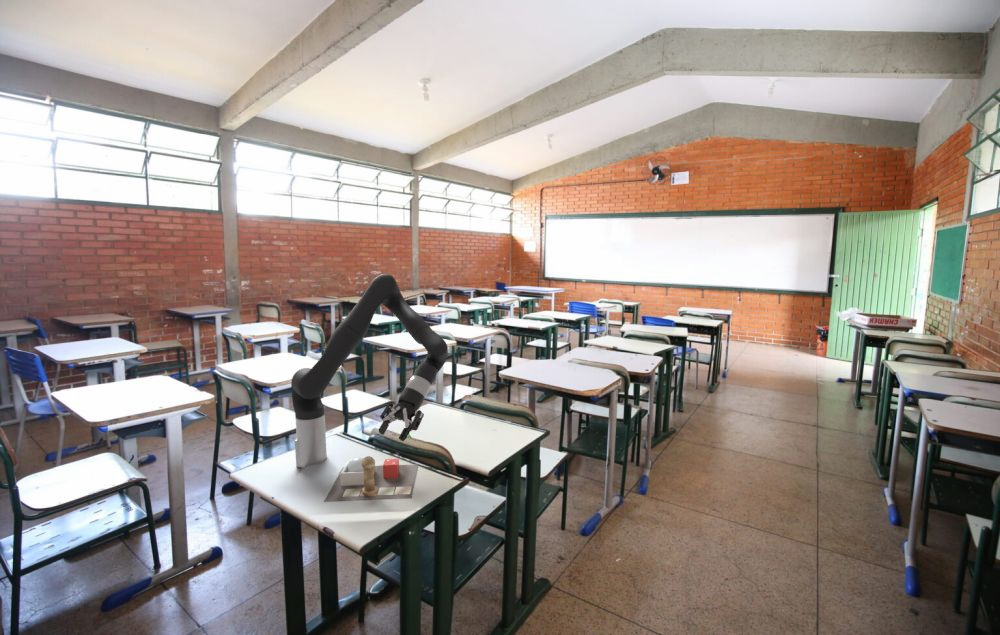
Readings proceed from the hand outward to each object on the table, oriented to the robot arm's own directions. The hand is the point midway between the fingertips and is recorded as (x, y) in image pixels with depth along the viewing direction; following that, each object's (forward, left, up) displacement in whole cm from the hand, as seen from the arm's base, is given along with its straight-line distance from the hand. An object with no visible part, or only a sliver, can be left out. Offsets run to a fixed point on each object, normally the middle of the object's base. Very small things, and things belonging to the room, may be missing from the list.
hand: (390, 436), depth 147 cm
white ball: (-10, 0, -13) cm, 17 cm away
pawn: (-5, -9, -14) cm, 17 cm away
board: (-5, -2, -15) cm, 16 cm away
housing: (-10, 0, -14) cm, 17 cm away
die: (0, +2, -14) cm, 14 cm away
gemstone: (+3, +26, -16) cm, 30 cm away
